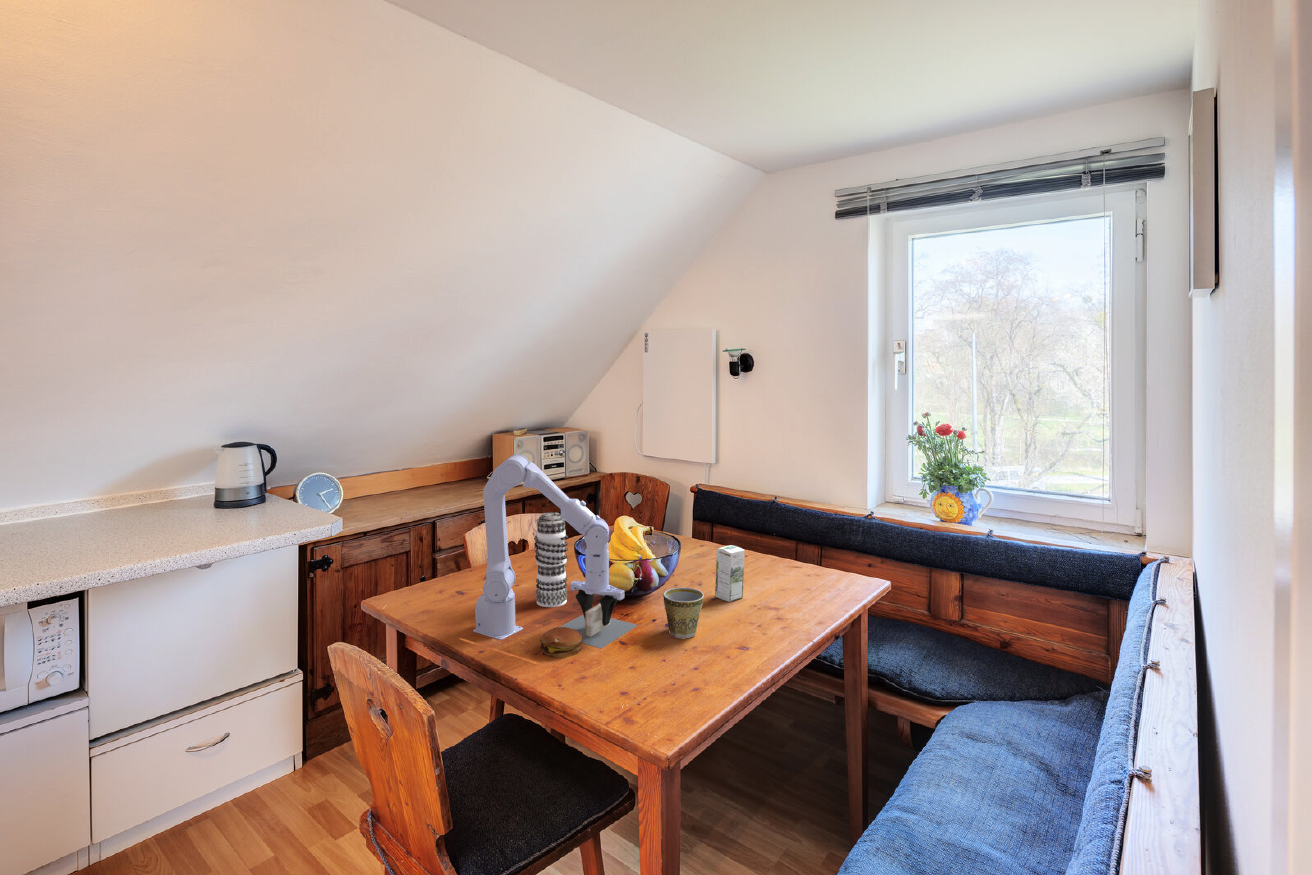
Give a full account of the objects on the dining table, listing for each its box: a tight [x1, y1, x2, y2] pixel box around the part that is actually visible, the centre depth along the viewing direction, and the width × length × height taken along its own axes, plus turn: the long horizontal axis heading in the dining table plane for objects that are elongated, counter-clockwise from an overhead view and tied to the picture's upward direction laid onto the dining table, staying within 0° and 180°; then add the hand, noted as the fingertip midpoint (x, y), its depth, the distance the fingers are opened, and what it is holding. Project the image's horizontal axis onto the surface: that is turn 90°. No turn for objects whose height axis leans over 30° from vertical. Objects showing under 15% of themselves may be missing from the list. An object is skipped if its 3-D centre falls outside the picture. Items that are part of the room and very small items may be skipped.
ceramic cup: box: [662, 587, 705, 640], centre depth 166 cm, size 13×10×10 cm
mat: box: [560, 614, 639, 649], centre depth 167 cm, size 16×16×1 cm
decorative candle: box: [533, 512, 569, 608], centre depth 183 cm, size 9×9×25 cm
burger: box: [539, 626, 584, 659], centre depth 155 cm, size 10×9×5 cm
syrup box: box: [714, 544, 746, 603], centre depth 189 cm, size 6×6×14 cm
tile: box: [585, 602, 610, 637], centre depth 166 cm, size 9×2×6 cm, turn 152°
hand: (597, 622), depth 166 cm, fingers open, 5 cm apart
